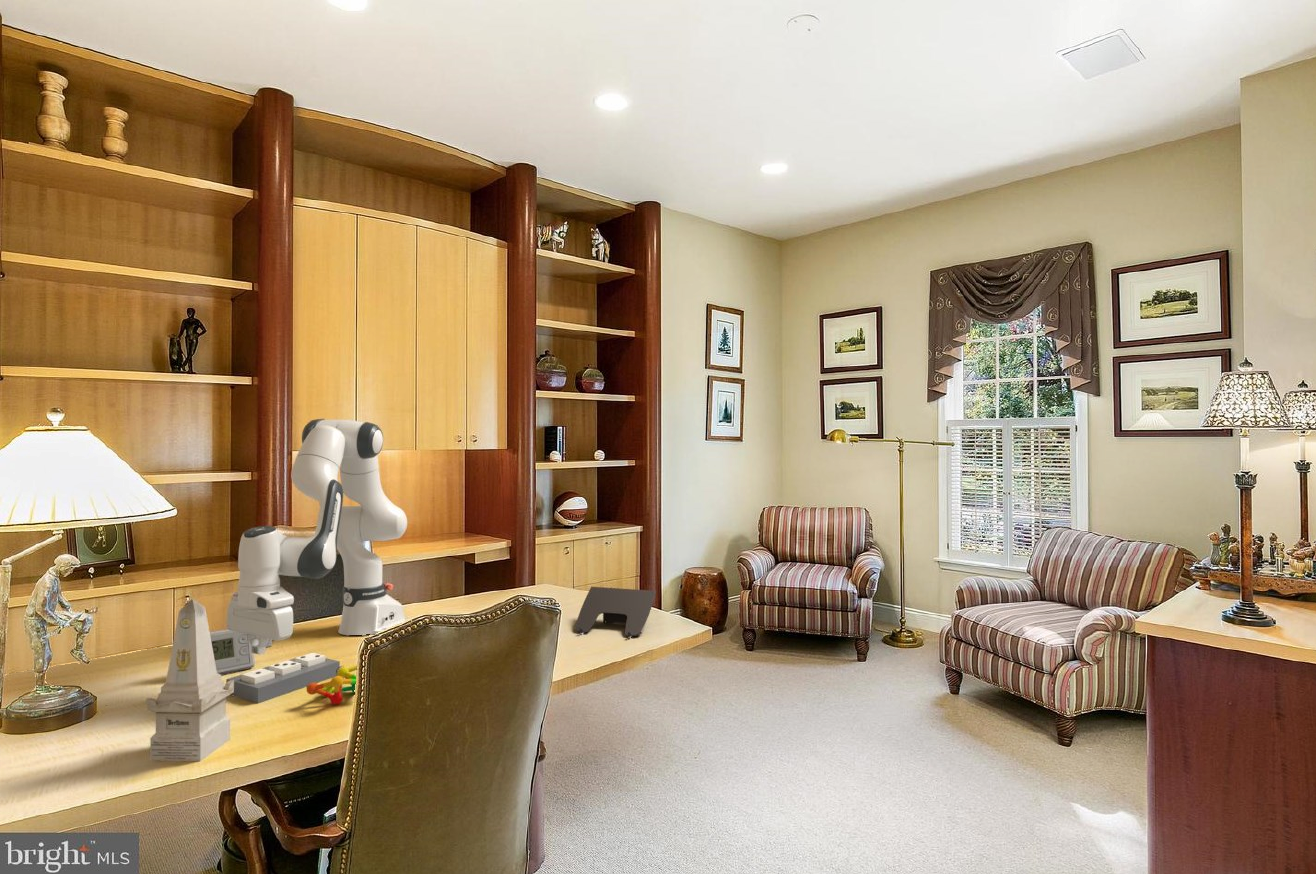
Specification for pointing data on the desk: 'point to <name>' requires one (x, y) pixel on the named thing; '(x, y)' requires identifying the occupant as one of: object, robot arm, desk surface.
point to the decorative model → (335, 685)
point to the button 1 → (258, 676)
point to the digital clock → (231, 651)
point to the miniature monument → (190, 695)
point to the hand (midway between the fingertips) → (258, 653)
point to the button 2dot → (310, 659)
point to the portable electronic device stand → (616, 608)
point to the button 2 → (285, 667)
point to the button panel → (284, 681)
